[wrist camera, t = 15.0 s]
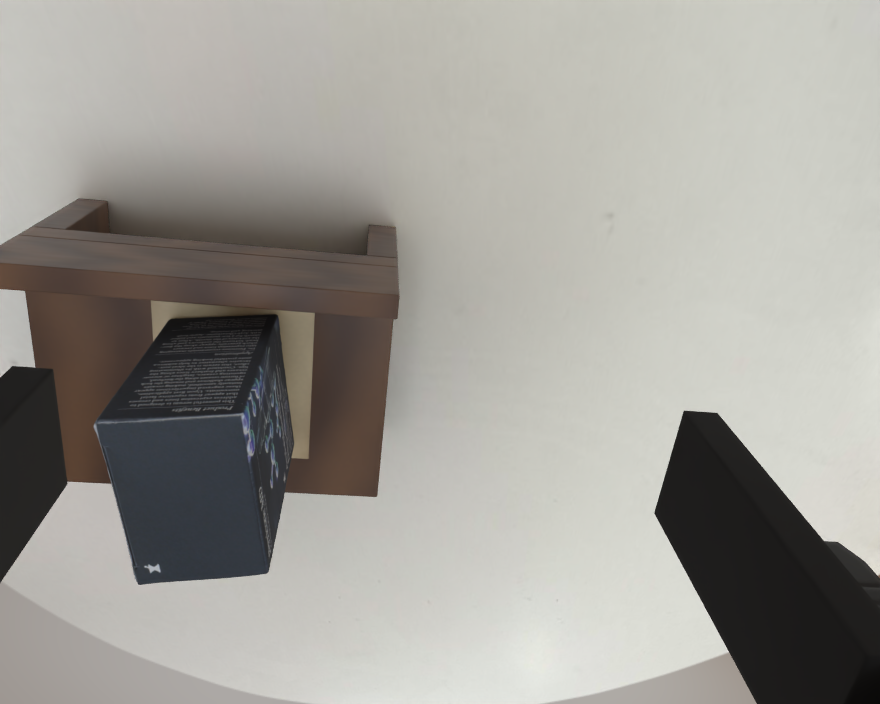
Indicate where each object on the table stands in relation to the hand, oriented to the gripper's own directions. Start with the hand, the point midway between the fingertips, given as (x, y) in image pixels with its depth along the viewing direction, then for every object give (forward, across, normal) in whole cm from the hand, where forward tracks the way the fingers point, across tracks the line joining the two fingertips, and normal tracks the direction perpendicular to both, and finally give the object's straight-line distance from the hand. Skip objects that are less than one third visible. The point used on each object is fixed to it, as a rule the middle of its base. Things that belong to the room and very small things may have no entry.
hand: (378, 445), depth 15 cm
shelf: (+29, -8, -10) cm, 31 cm away
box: (+21, -7, -10) cm, 25 cm away
